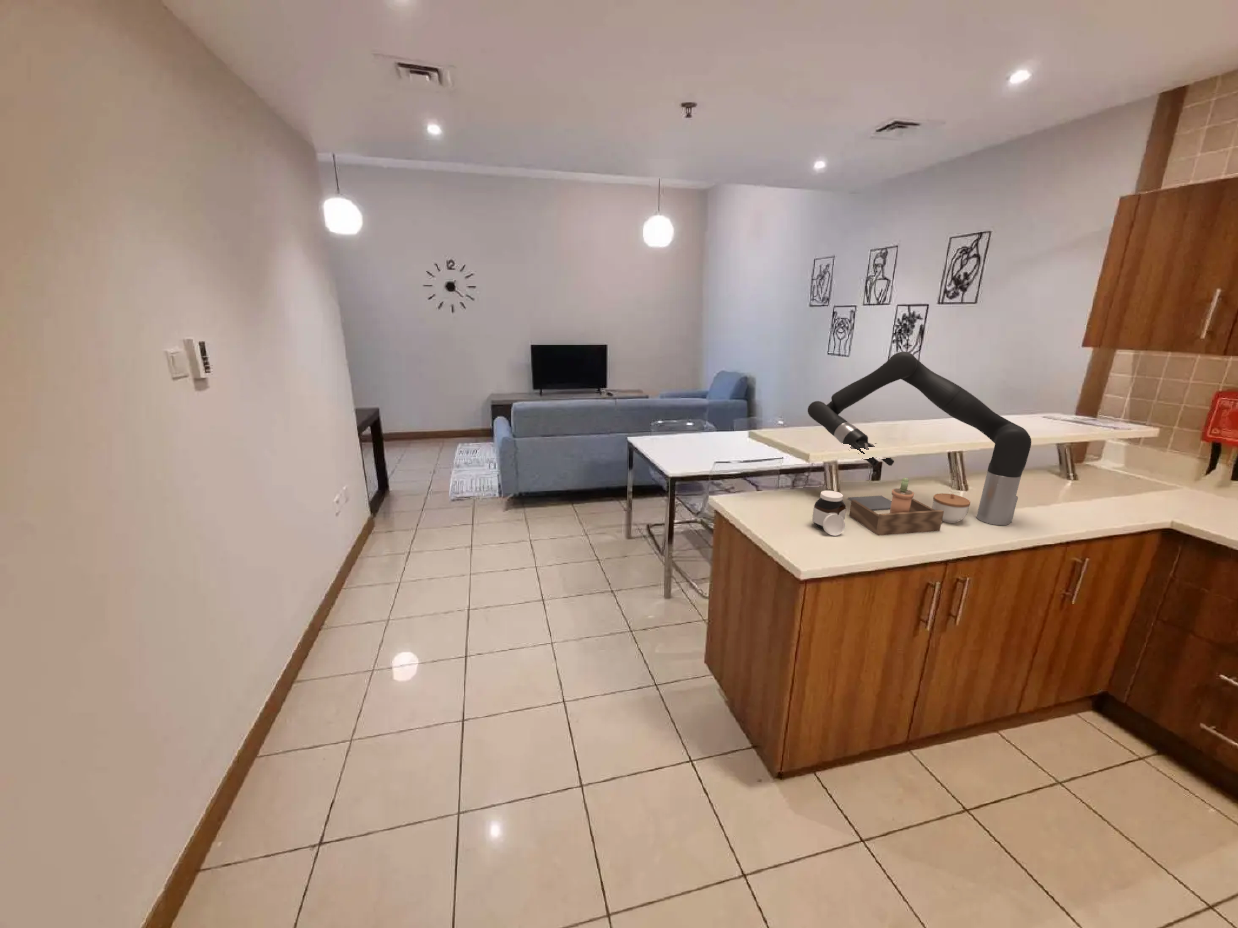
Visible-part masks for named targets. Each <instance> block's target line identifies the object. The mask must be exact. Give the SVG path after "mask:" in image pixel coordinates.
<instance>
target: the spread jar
mask: <svg viewBox="0 0 1238 928" xmlns="http://www.w3.org/2000/svg"><path fill="white" fill-rule="evenodd" d="M843 497H844V495H843V494H842V493H841V492H839V491H835V490H821V492H820V496H819V498H818V499H817V500H816V501H815V503H814V505H813V508H812V509H813V511H812V516H811V517H812V519H811V520H812V522H813V523H814V525H815V526H816V527H817V528H819V529H822V530H824V532H825V533H826V534H828V535H830V536H833V537H835V536H836V537H837V536H840V535H841V534H842V533H843V532H844V531H845V529H846V521H845V519H846V513H847V506H846V503H845V502H844V501H843Z"/></svg>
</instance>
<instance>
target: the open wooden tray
mask: <svg viewBox="0 0 1238 928" xmlns="http://www.w3.org/2000/svg"><path fill="white" fill-rule="evenodd" d="M943 514H944V511H942V510H934V509H933V507H930V506H928V505H926V504H924V503H923V502H920V501H918V500H917V499H914V497H913V498H912V500H911V505H910V510H909V512H901V513H890V512H888V513H877V512H875V511H872V510H871V509H869V508H867V507H866V506H864V505H862V504H861V503H859V502H857V501H856V500H850V507H849V514H848V516H849V517H850V518H851V519H854V521H856V522H858V524H861V525H862V526H863V527H865V528H867V529H868V530H870V531H871V532H872V533H874V534H875V535H876V536H884V535H885V536H889V535H901V534H914V533H917V534H918V533H926V532H927V533H928V532H929V533H930V532H940V531H941V526H942V522H943V521H942V518H943Z"/></svg>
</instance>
